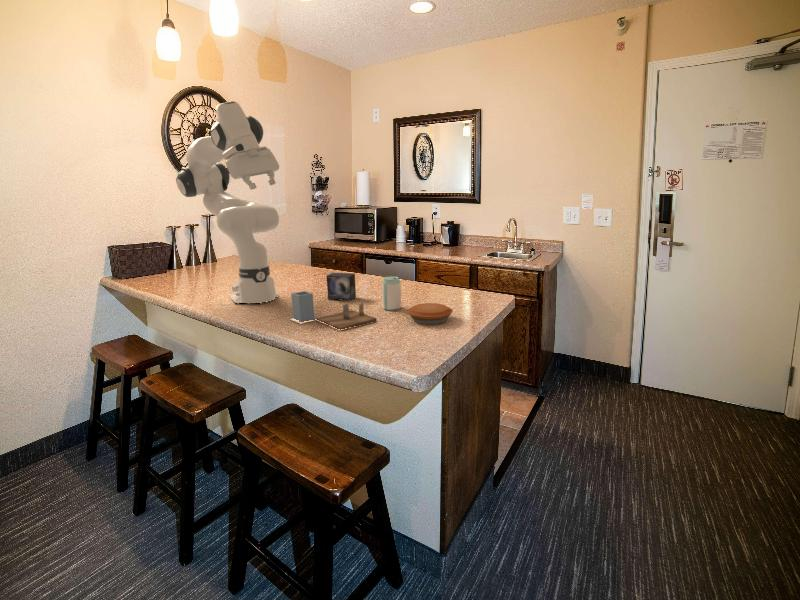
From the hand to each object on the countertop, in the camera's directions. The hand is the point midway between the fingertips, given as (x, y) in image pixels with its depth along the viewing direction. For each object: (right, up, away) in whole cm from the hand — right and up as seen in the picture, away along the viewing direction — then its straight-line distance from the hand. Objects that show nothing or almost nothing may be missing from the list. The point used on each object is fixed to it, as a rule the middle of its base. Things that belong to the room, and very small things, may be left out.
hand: (263, 186), depth 159 cm
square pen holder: (+14, -47, +1) cm, 49 cm away
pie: (+58, -47, -2) cm, 75 cm away
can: (+45, -43, +13) cm, 64 cm away
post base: (+29, -47, -2) cm, 56 cm away
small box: (+24, -40, +30) cm, 55 cm away
